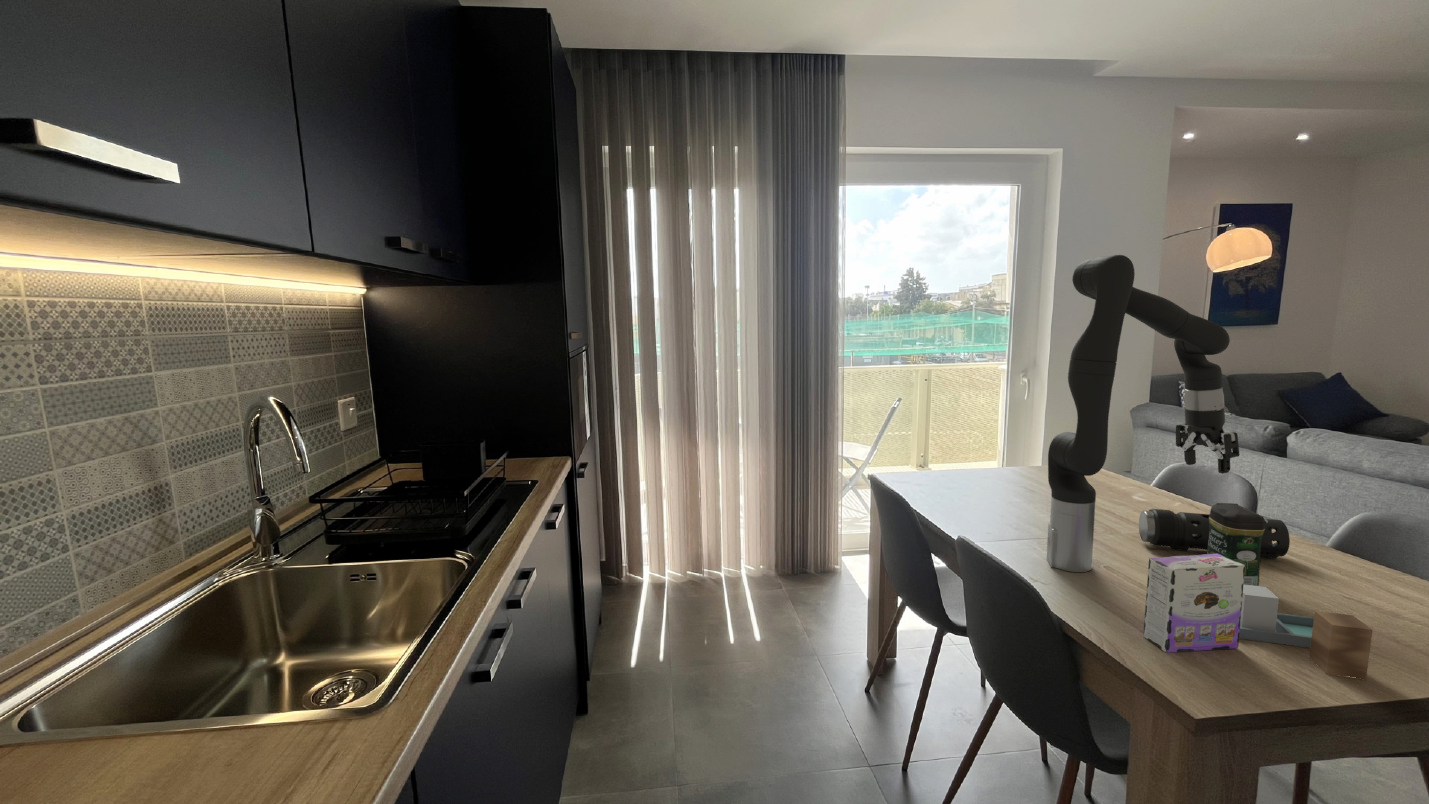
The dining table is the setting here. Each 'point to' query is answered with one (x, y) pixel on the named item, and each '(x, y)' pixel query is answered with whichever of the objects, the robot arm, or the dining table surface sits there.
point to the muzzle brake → (1202, 532)
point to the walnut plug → (1340, 644)
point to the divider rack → (1271, 620)
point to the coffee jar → (1237, 537)
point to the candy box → (1193, 602)
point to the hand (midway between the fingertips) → (1207, 468)
